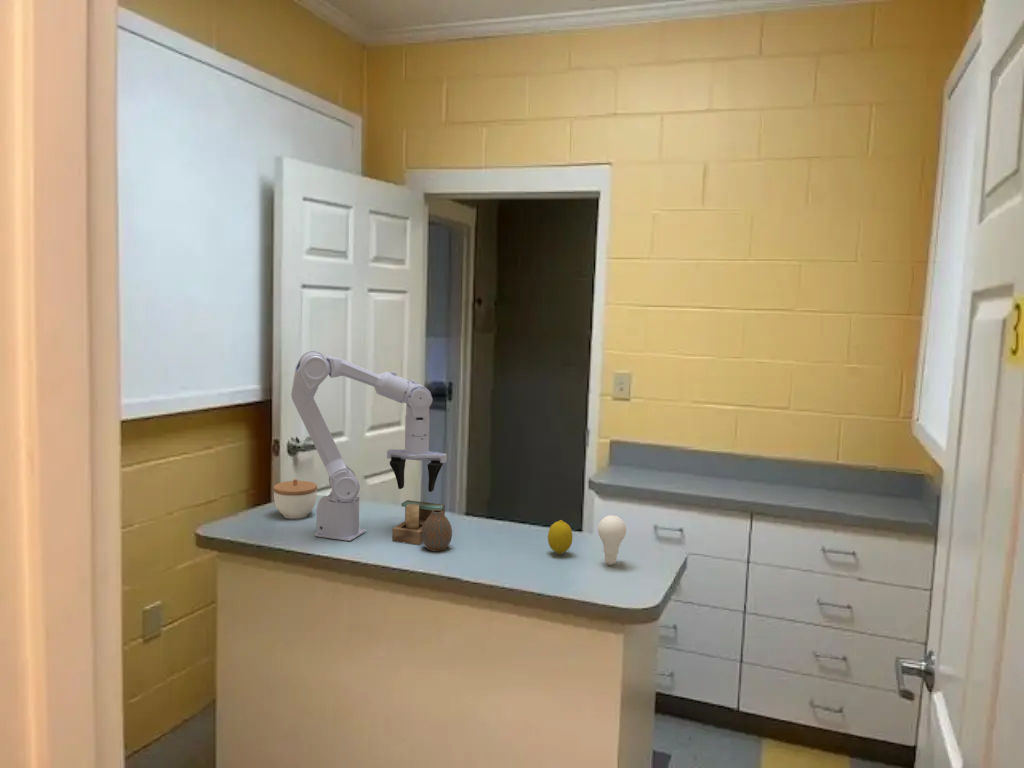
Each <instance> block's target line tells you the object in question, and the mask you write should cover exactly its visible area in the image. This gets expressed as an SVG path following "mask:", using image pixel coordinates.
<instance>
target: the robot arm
mask: <svg viewBox="0 0 1024 768" xmlns="http://www.w3.org/2000/svg"><path fill="white" fill-rule="evenodd" d="M397 374H398V373H397V372H395V371H393V370H391V371H390V372H389V371H384V372H381V373H376V372H374V371H371V370H370V369H367V368H365V367H362V366H359V365H357V364H355V363H353V362H350V361H349V360H346V359H343V358H341V357H337V356H334V355H330V354H326V353H324V354H322V353H321V352H319V351H316V350H310V351H306V352H305V353H303V355H301V357H300V359H299V360H298V363H297V364H296V365H295V367H294V376H293V381H292V382H293V383H292V387H291V393H290V395H291V400H292V403H293V404H294V406H295V408H296V411H297V412H298V415H299V416H300V418H301V421H302V423H303V426H304V427H305V429H306V431H307V433H308V435H309V437H310V439H311V441H312V443H313V446H314V448H315V449H316V452H317V453H318V455H319V457H320V460H321V461H322V463H323V466H324V468H325V470H326V472H327V474H328V484H329V486H330V487H331V491H330V493H329V494H328V495H324V496H322V497H321V498H320V499H319V500H318V502H317V507H316V533H314V537H317V538H318V537H319V538H326V539H333V540H338V541H339V540H340V541H345V542H351V541H353V540H354V539H357V538H358V537H359V536H361V535H363V534H364V533H366V532H367V529H365V528H363V529H362V528H360V495H359V492H360V482H359V480H358V479H357V477H356V473H355V472H354V471H353V470H354V469H353V470H352V468H350V467H349V466H348V465H347V464H346V462H345V461H344V458H343V456H342V454H341V452H340V450H339V448H338V445H337V443H336V441H335V440H334V437H333V436H332V433H331V431H330V429H329V427H328V425H327V423H326V421H325V419H324V417H323V415H322V413H321V411H320V409H319V407H318V404H317V402H316V400H315V395H316V393H317V390H318V389H319V386H320V385H321V384H322V383H323V382H324V381H325V379H327V377H328V376H329V377H330V378H331V379H333V378H337V377H346V378H348V379H351V380H354V381H358V382H360V383H363V384H364V385H365V384H366V385H368V386H371V387H373V388H374V390H375V392H376V394H377V395H379V396H382V397H383V398H387V399H389V400H393V401H395V402H397V403H399V404H400V403H401V404H404V403H405V404H406V406H405V407H406V408H405V409H406V410H405V417H404V418H405V420H404V421H405V427H404V428H405V429H404V449H394V448H389V449H388V450H386V459H388V460H389V459H390V460H389V465H390V467H391V469H392V471H393V474H394V476H395V479H396V484H397V487H398V490H402V489H403V488H405V466H406V461H407V460H411V461H420V462H421V461H423V462H424V461H425V462H429V463H427V471H428V484H427V488H428V489H427V491H428V492H429V493H431V492H434V490H435V485H436V482H437V478H438V475H439V473H440V470H441V468H442V466H443V465H444V464H445V463H447V462H448V460H447V458H448V457H447V456H448V455H447V453H442V452H438V451H437V452H436V451H431V450H430V448H429V447H430V446H429V445H430V407H431V406H432V403H433V397H432V393H431V391H430V390H429V389H428V388H427V387H426V386H424V385H422V384H420V383H419V382H416V380H414V379H413V378H412V379H409V380H408V379H407V378H404V377H401V376H400V375H397Z"/></svg>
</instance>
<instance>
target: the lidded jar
mask: <svg viewBox="0 0 1024 768" xmlns="http://www.w3.org/2000/svg"><path fill="white" fill-rule="evenodd" d="M317 490H318V485H317V483H316V482H312V481H308V480H298V479H297V478H293V480H287V481H281V482H278V483H277V484H275V485H274V486H273V497H274V499H273V500H274V503H275V504H274V505H275V507H276V510H277V511H278V512H279V513H280V514H281V515H282V517H284V518H285V519H291V520H292V519H293V520H296V519H304V518H306V517H308V516H309V514H310V512H312V510H313V509H314V507H315V504H316V501H317V496H318V495H317V493H318V492H317Z"/></svg>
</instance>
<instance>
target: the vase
mask: <svg viewBox="0 0 1024 768" xmlns="http://www.w3.org/2000/svg"><path fill="white" fill-rule="evenodd" d="M452 537H453V528H452V525H451V522H450V521H449V519H448V518H447V516H446V514H445V515H444V513H443V511H442V510H433V511H432V512H431V514H430V516H429V517H428V518H427V519H426V521H425V522H424V524H423V527H422V541H423V543H422V544H423V545H424V547H425V548H427V550H429V551H433V552H441V551H444V550H446V549H447V548H448V547H449V546H450V543H451V541H452Z"/></svg>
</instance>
